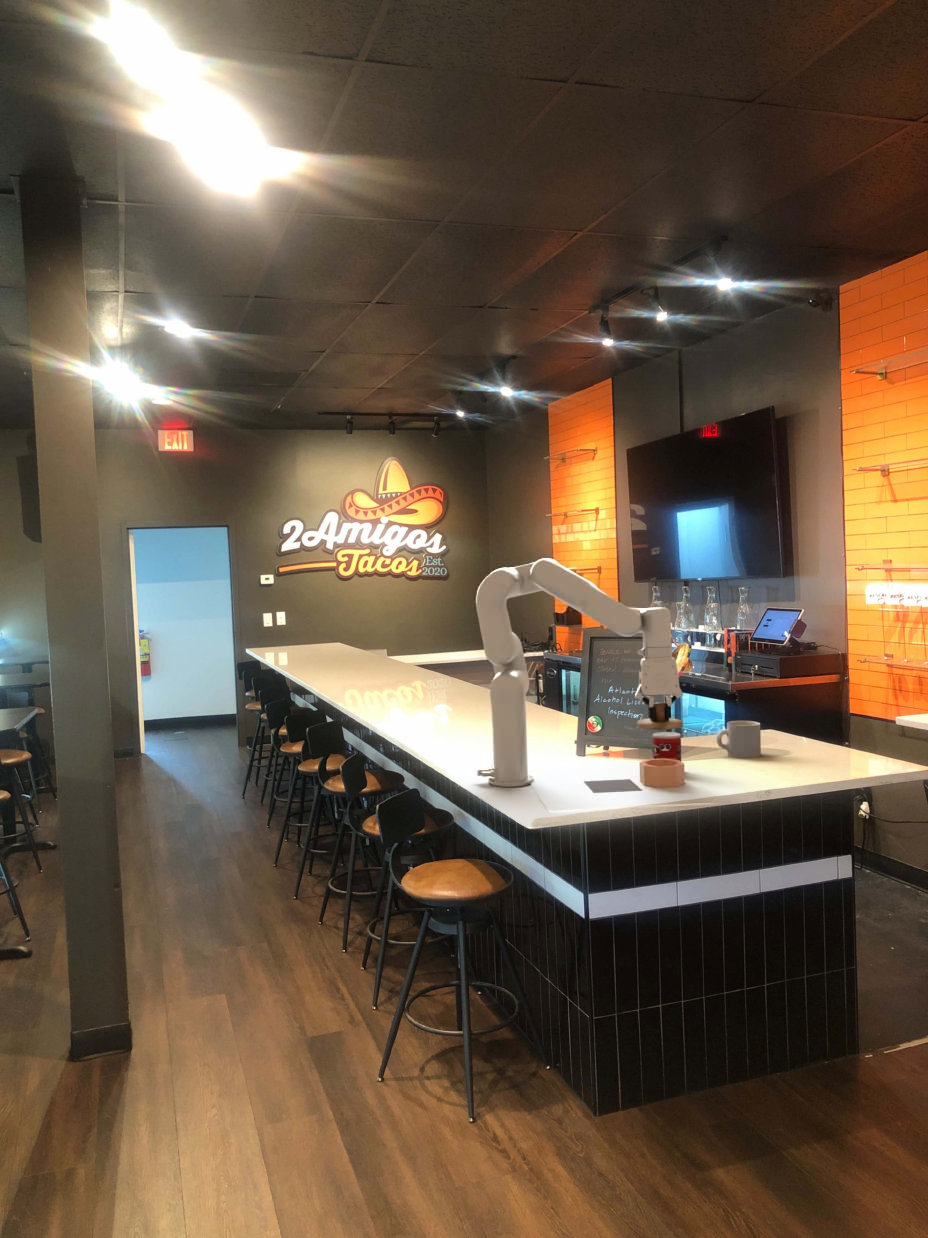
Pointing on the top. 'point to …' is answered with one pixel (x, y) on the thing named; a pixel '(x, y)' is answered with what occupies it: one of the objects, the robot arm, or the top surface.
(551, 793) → the top surface
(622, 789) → the mat
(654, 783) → the bowl
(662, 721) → the lid
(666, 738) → the canned food
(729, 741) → the coffee mug
